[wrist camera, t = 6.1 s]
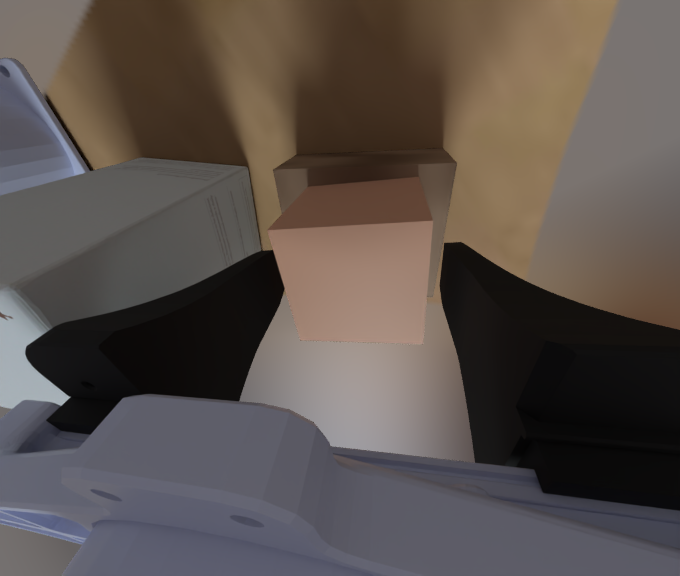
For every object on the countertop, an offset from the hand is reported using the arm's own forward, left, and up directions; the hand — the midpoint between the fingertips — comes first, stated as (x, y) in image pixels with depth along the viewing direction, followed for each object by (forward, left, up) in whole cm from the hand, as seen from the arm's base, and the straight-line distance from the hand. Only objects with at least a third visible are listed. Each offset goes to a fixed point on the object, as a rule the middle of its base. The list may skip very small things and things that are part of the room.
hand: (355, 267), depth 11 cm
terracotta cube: (0, 0, -3) cm, 3 cm away
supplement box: (-11, 0, -7) cm, 13 cm away
